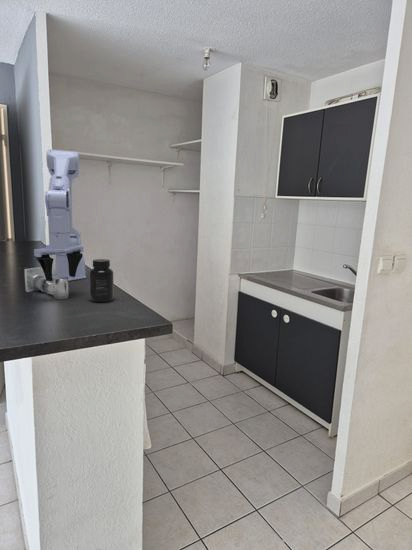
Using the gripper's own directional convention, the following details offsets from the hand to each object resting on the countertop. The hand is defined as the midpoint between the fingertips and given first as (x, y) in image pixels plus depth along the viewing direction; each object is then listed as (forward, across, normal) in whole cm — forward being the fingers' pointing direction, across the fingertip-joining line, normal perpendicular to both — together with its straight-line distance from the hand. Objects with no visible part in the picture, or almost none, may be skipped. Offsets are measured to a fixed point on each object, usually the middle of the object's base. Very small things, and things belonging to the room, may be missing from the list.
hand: (60, 278), depth 111 cm
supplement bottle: (+6, +7, -10) cm, 14 cm away
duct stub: (+6, 0, +10) cm, 12 cm away
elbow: (+6, 0, +2) cm, 6 cm away
